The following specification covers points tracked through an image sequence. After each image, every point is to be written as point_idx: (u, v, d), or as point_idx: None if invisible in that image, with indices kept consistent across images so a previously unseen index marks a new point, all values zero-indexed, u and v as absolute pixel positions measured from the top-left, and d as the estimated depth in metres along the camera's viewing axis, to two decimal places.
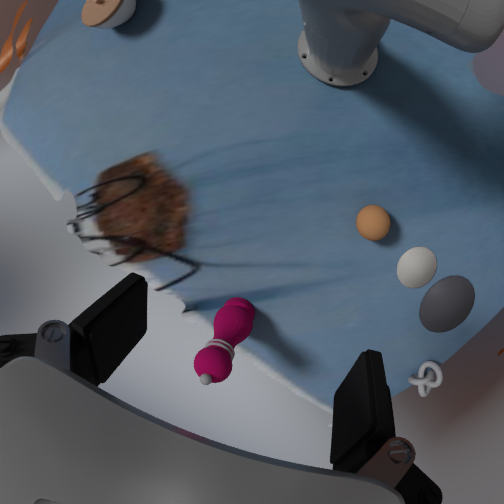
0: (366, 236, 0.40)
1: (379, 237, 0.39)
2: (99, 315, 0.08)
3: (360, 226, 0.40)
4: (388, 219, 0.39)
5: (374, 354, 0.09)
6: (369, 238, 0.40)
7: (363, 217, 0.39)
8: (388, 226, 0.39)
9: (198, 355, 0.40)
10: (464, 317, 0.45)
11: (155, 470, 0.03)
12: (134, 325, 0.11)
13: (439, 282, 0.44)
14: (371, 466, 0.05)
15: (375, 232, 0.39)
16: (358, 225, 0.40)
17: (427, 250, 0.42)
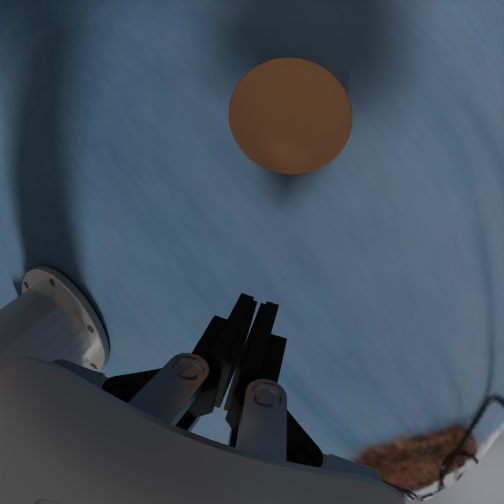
0: (341, 121, 0.10)
1: (317, 75, 0.09)
2: (233, 342, 0.09)
3: (321, 158, 0.11)
4: (242, 80, 0.10)
5: (269, 305, 0.11)
6: (342, 106, 0.10)
7: (286, 164, 0.11)
8: (262, 67, 0.10)
9: None
10: None
11: (155, 470, 0.03)
12: (242, 345, 0.11)
13: None
14: (248, 423, 0.06)
15: (304, 101, 0.09)
16: (322, 163, 0.11)
17: None
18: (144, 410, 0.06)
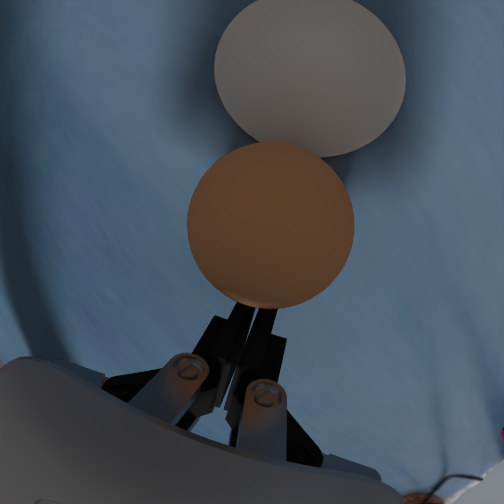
0: None
1: None
2: (233, 342, 0.09)
3: (340, 181, 0.08)
4: None
5: None
6: None
7: (305, 154, 0.08)
8: None
9: None
10: None
11: (155, 470, 0.03)
12: (242, 345, 0.11)
13: None
14: (248, 423, 0.06)
15: None
16: (344, 192, 0.08)
17: (221, 72, 0.10)
18: (144, 410, 0.06)
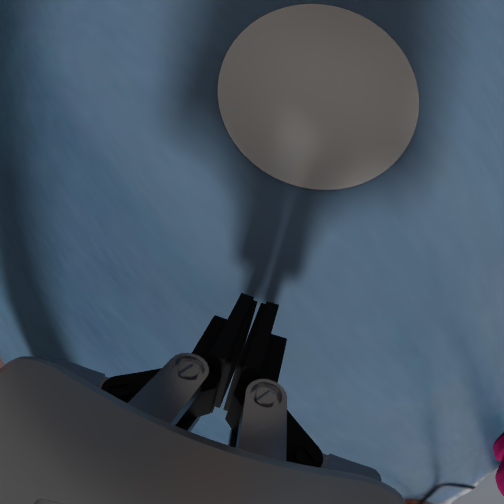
0: None
1: None
2: (233, 342, 0.09)
3: None
4: None
5: (270, 305, 0.11)
6: None
7: None
8: None
9: None
10: None
11: (155, 470, 0.03)
12: (242, 345, 0.11)
13: None
14: (248, 423, 0.06)
15: None
16: None
17: (225, 94, 0.10)
18: (144, 410, 0.06)
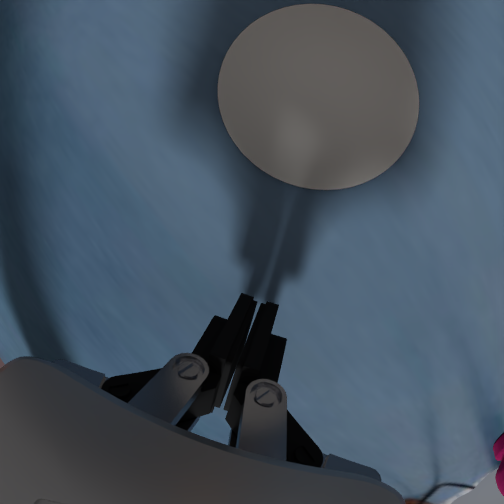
0: None
1: None
2: (233, 342, 0.09)
3: None
4: None
5: (270, 305, 0.11)
6: None
7: None
8: None
9: None
10: None
11: (155, 470, 0.03)
12: (242, 345, 0.11)
13: None
14: (248, 423, 0.06)
15: None
16: None
17: (225, 94, 0.10)
18: (144, 410, 0.06)
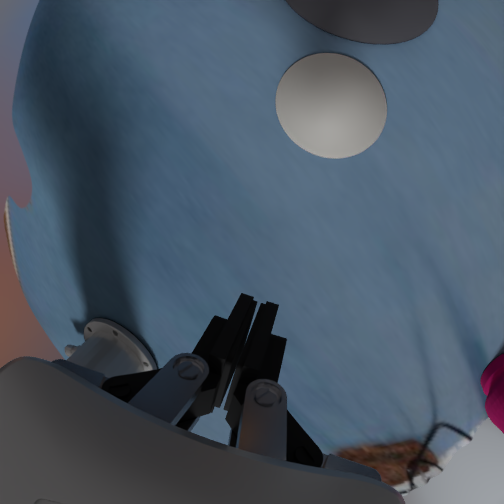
0: None
1: None
2: (233, 342, 0.09)
3: None
4: None
5: (270, 305, 0.11)
6: None
7: None
8: None
9: None
10: None
11: (155, 470, 0.03)
12: (242, 345, 0.11)
13: (328, 29, 0.15)
14: (248, 423, 0.06)
15: None
16: None
17: (280, 104, 0.18)
18: (144, 410, 0.06)
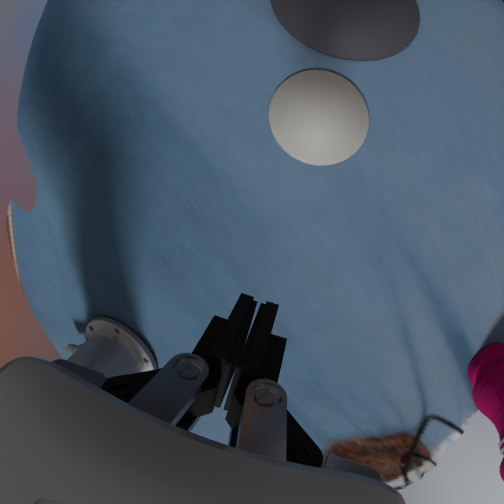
0: None
1: None
2: (233, 342, 0.09)
3: None
4: None
5: (270, 305, 0.11)
6: None
7: None
8: None
9: None
10: None
11: (155, 470, 0.03)
12: (242, 345, 0.11)
13: (316, 47, 0.18)
14: (248, 423, 0.06)
15: None
16: None
17: (272, 117, 0.21)
18: (144, 410, 0.06)
